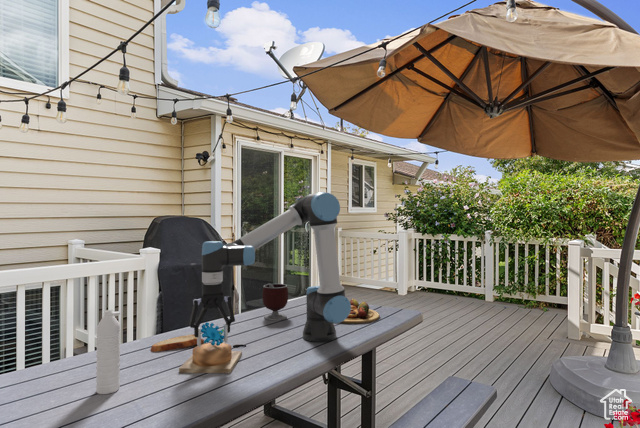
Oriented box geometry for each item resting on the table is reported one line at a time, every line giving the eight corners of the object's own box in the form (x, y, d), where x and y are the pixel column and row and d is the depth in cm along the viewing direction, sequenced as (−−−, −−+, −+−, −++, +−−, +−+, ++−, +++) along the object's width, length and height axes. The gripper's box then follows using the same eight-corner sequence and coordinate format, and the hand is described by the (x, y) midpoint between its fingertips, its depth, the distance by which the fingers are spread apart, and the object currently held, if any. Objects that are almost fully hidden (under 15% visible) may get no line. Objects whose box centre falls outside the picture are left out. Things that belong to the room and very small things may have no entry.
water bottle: (92, 391, 124) (92, 311, 124) (113, 384, 129) (113, 307, 129) (106, 398, 119) (106, 314, 119) (127, 390, 124) (127, 310, 124)
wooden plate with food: (311, 321, 208) (311, 305, 208) (332, 307, 238) (332, 293, 238) (370, 329, 196) (371, 312, 196) (385, 313, 226) (385, 299, 226)
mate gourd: (269, 313, 224) (269, 277, 224) (292, 315, 219) (292, 279, 219) (256, 320, 209) (256, 282, 209) (280, 322, 204) (280, 283, 205)
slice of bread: (146, 352, 161) (146, 343, 161) (171, 338, 178) (171, 330, 178) (186, 355, 157) (186, 346, 157) (208, 341, 175) (208, 332, 175)
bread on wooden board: (241, 355, 156) (241, 341, 156) (230, 373, 138) (230, 357, 138) (196, 354, 157) (196, 340, 157) (179, 372, 139) (179, 356, 139)
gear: (210, 345, 141) (198, 322, 145) (200, 355, 142) (188, 332, 147) (231, 341, 150) (219, 319, 155) (222, 350, 152) (210, 329, 156)
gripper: (183, 287, 139) (183, 351, 139) (244, 282, 150) (244, 341, 149) (179, 283, 146) (179, 345, 145) (238, 279, 156) (238, 336, 156)
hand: (212, 343), depth 147 cm, fingers closed on gear, 9 cm apart
